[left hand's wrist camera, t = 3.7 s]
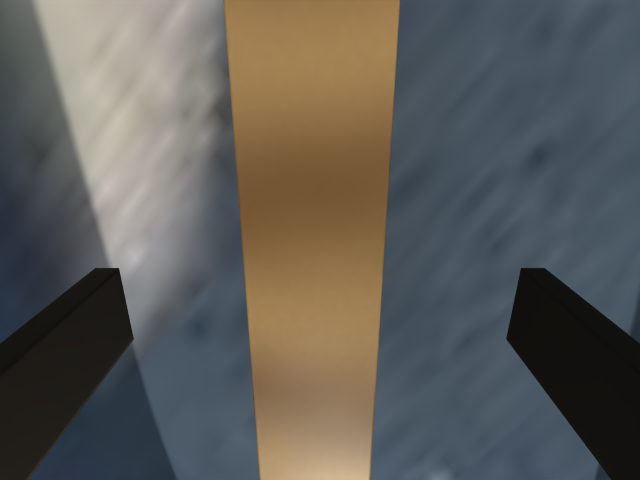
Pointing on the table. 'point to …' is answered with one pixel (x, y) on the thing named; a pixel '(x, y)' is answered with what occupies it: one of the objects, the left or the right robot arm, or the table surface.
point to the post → (313, 221)
